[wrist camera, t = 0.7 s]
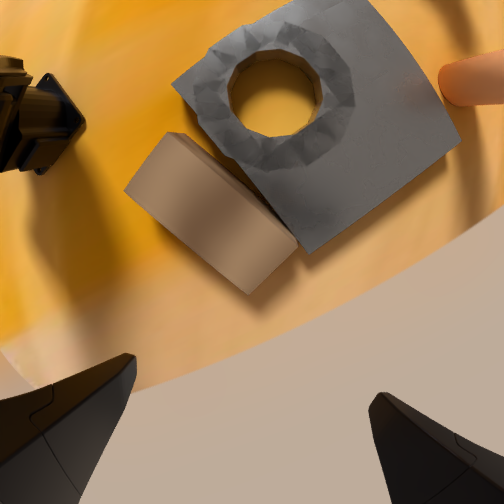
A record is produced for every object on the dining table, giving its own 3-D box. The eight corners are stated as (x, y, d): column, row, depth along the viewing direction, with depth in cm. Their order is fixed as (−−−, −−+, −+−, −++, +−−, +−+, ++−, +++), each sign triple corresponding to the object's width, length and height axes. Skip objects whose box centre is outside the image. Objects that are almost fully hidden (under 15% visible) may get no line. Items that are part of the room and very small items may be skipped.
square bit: (148, 180, 21) (123, 191, 17) (185, 133, 20) (167, 132, 15) (250, 267, 23) (248, 295, 19) (291, 226, 22) (298, 246, 18)
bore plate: (175, 90, 18) (164, 84, 16) (333, -12, 15) (341, -27, 13) (300, 244, 22) (305, 257, 20) (443, 139, 19) (461, 140, 16)
